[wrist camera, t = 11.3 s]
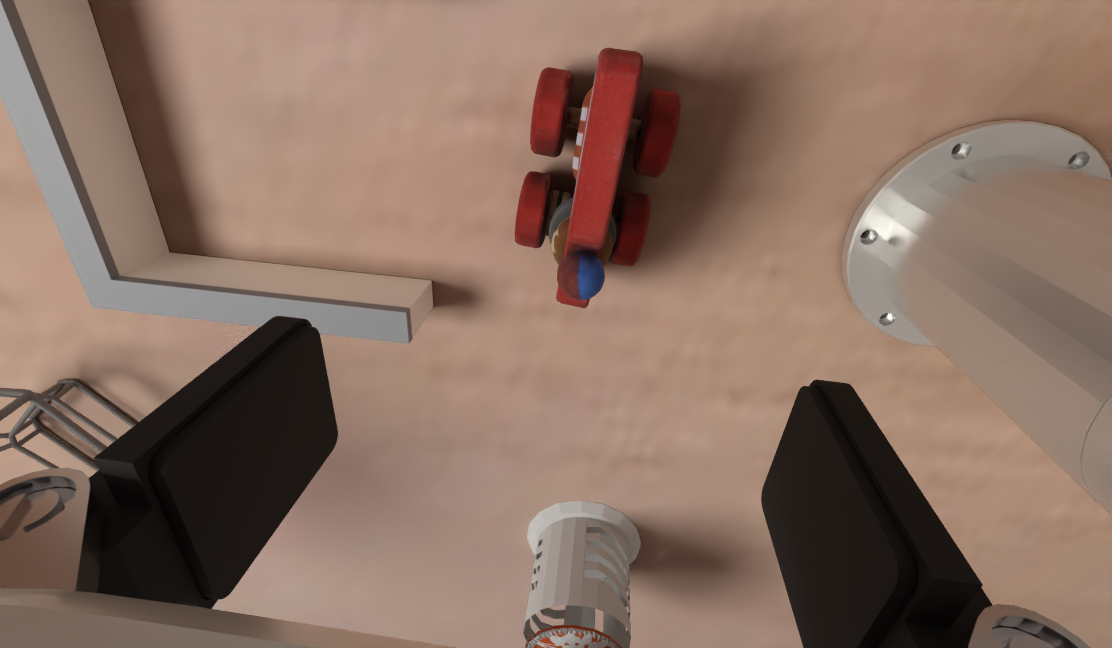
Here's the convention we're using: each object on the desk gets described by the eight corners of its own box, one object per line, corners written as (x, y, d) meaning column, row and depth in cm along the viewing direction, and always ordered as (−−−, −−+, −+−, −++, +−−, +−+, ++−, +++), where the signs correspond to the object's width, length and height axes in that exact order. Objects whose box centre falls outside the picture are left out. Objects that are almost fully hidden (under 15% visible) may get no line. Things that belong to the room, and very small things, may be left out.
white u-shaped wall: (411, -64, 24) (371, -85, 20) (433, 308, 34) (408, 343, 30) (21, -90, 26) (-90, -114, 22) (150, 277, 35) (91, 307, 31)
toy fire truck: (517, 256, 32) (477, 342, 23) (552, 31, 26) (516, 27, 17) (626, 280, 32) (629, 375, 23) (687, 60, 26) (724, 71, 17)
